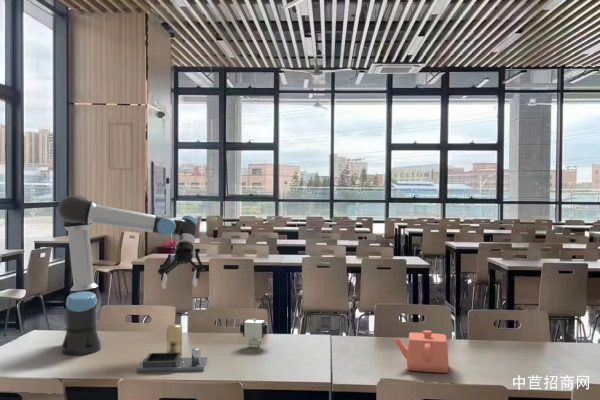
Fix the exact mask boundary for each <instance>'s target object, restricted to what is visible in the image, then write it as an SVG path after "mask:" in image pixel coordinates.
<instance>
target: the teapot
mask: <svg viewBox="0 0 600 400" xmlns="http://www.w3.org/2000/svg"><path fill="white" fill-rule="evenodd" d="M408 335H409V336H408V341H407V345H406V344H405V343H404V342H403V341H402V340H401V339H400V337H397V338H393V341H394V343H395V344H396V346H397V347H398V348H399V351H400V352H401V353H402V356H403V357H404V359H405V360H406V367H407V370H408V371H413V372H424V373H441V374H443V373H444V374H447V373H448V370H449V348H448V342H447V335H446V334H443V333H433V331H432V330H428V329H427V330H422V332H412V331H411V332H409V334H408Z"/></svg>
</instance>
